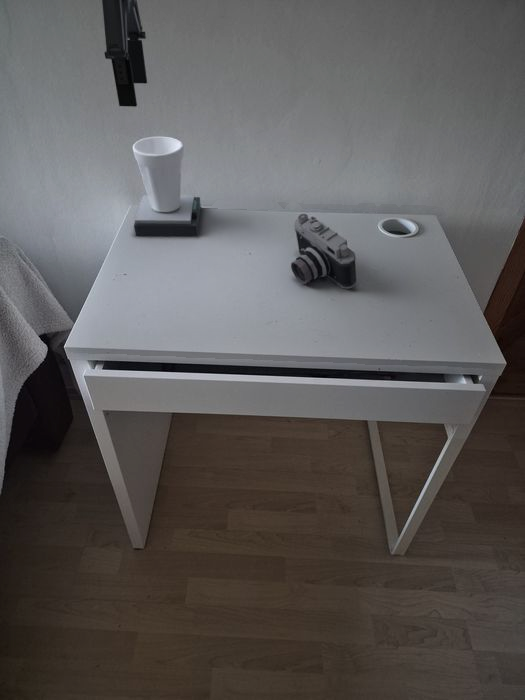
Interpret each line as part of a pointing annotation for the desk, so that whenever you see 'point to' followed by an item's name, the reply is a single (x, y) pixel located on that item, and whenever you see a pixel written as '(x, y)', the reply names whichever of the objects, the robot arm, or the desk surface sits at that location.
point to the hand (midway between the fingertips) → (134, 93)
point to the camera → (322, 254)
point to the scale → (168, 218)
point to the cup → (160, 170)
